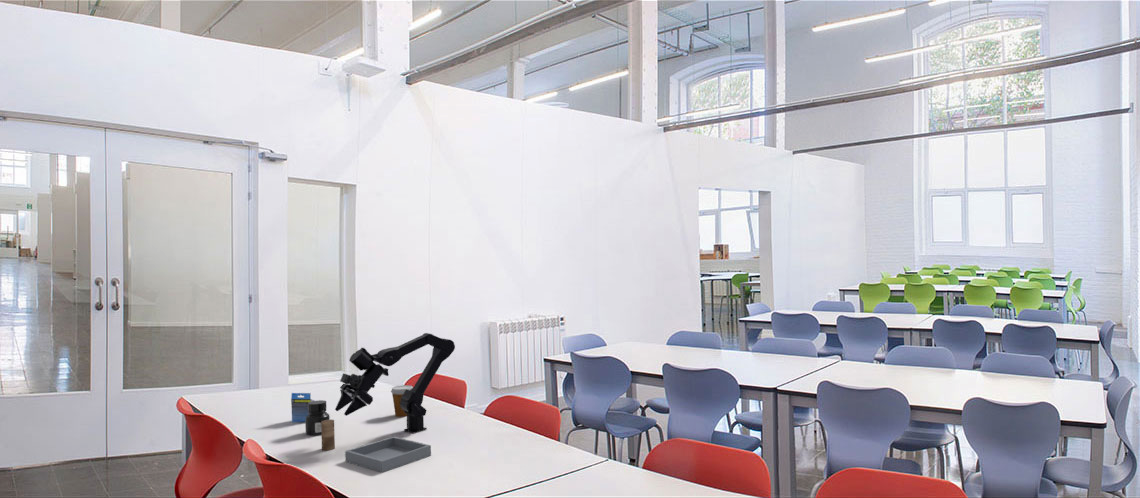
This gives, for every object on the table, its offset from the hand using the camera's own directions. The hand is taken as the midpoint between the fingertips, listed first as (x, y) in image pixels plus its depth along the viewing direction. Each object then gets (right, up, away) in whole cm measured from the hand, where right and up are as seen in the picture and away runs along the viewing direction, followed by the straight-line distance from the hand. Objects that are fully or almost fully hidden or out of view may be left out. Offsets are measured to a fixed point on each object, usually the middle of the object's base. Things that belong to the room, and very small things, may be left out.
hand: (340, 412), depth 235 cm
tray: (+22, -12, -16) cm, 29 cm away
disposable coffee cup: (+12, -12, +43) cm, 47 cm away
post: (-3, -12, -3) cm, 13 cm away
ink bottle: (-16, -13, +19) cm, 28 cm away
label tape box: (-29, -13, +38) cm, 49 cm away
